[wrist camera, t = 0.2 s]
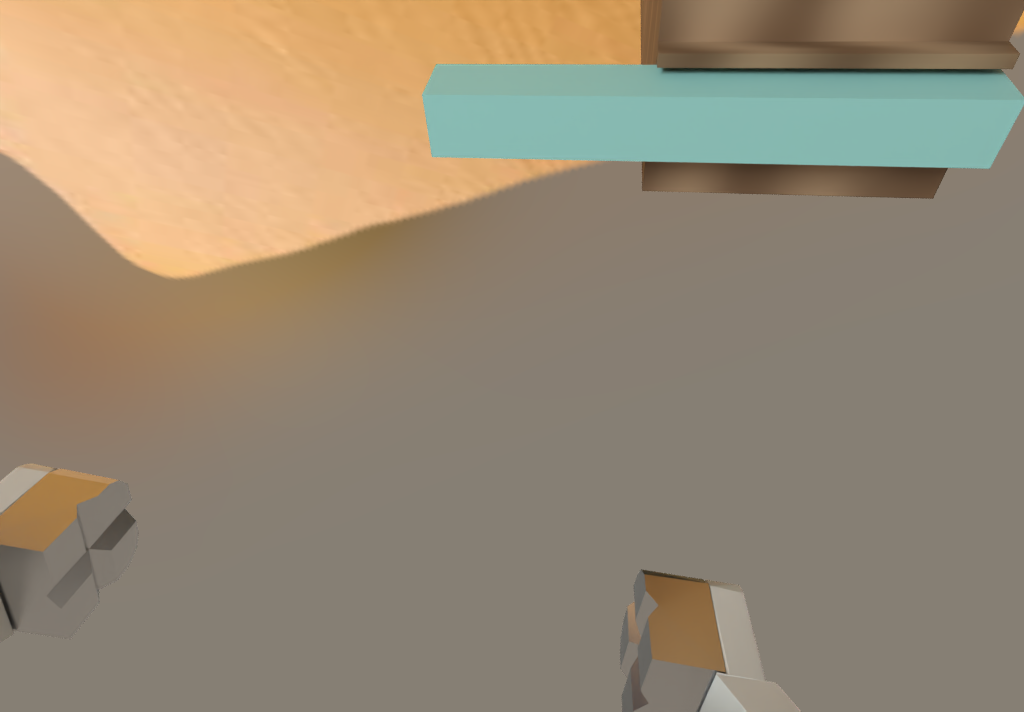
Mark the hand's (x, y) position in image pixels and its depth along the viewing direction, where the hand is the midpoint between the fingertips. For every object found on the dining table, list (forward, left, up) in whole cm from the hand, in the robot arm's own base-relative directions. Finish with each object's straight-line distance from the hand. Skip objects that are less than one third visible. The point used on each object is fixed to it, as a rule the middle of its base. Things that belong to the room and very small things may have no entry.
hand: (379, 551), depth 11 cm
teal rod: (-2, +9, -25) cm, 27 cm away
